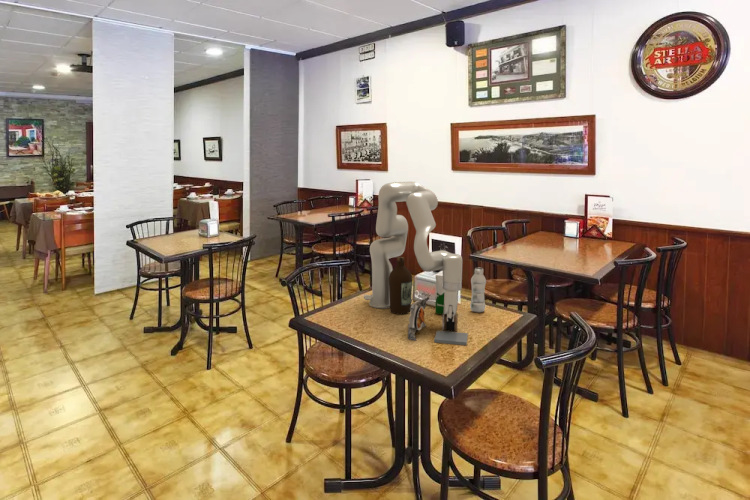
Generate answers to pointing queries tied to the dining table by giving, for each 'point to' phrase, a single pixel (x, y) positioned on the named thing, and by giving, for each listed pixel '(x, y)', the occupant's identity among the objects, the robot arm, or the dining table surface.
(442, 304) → the milk carton
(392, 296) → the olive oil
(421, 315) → the meal
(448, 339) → the slate board
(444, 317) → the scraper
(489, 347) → the dining table surface
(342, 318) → the dining table surface
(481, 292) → the plastic bottle
